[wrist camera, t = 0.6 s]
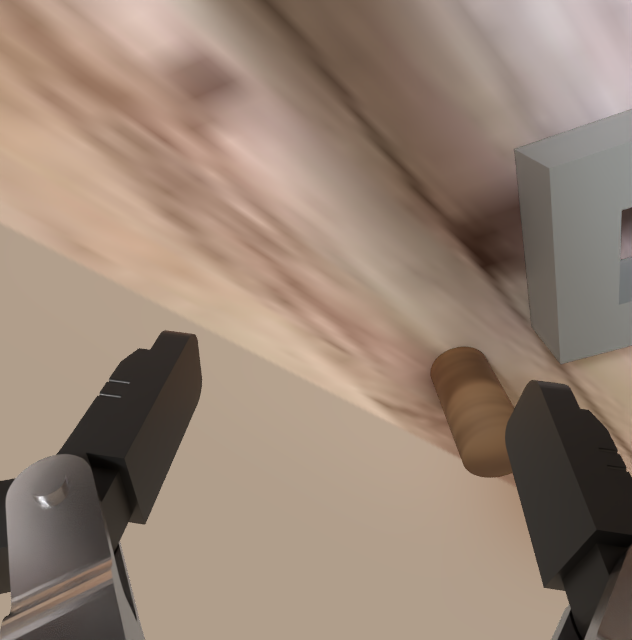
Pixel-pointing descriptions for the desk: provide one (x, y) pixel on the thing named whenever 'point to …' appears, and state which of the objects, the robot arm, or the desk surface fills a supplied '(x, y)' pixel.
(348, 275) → the desk surface
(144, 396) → the robot arm
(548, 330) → the socket block
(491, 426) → the peg
